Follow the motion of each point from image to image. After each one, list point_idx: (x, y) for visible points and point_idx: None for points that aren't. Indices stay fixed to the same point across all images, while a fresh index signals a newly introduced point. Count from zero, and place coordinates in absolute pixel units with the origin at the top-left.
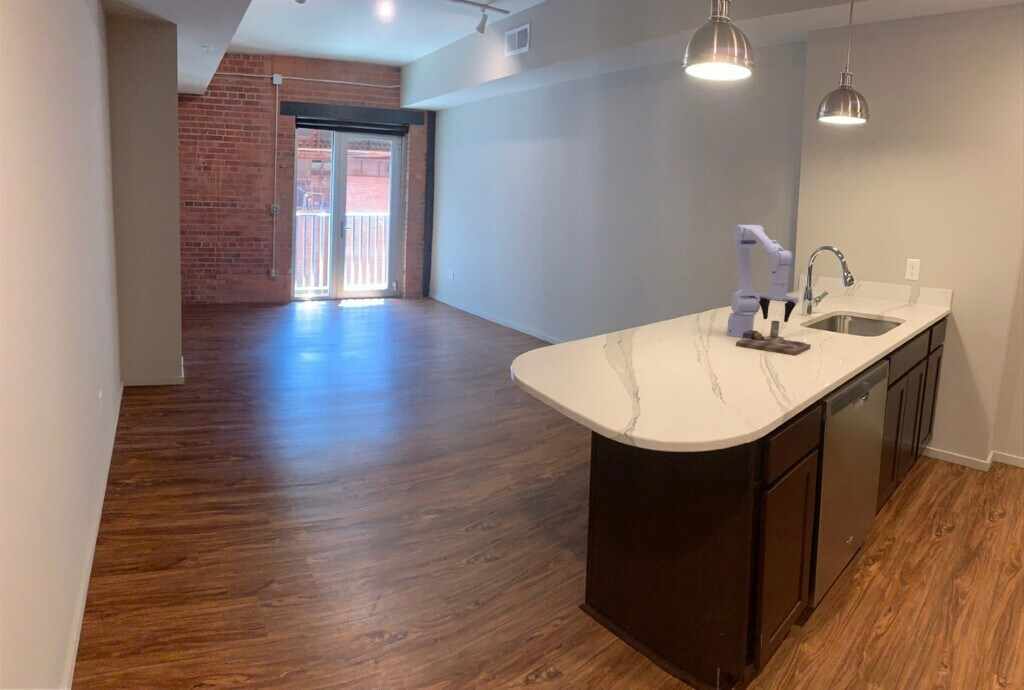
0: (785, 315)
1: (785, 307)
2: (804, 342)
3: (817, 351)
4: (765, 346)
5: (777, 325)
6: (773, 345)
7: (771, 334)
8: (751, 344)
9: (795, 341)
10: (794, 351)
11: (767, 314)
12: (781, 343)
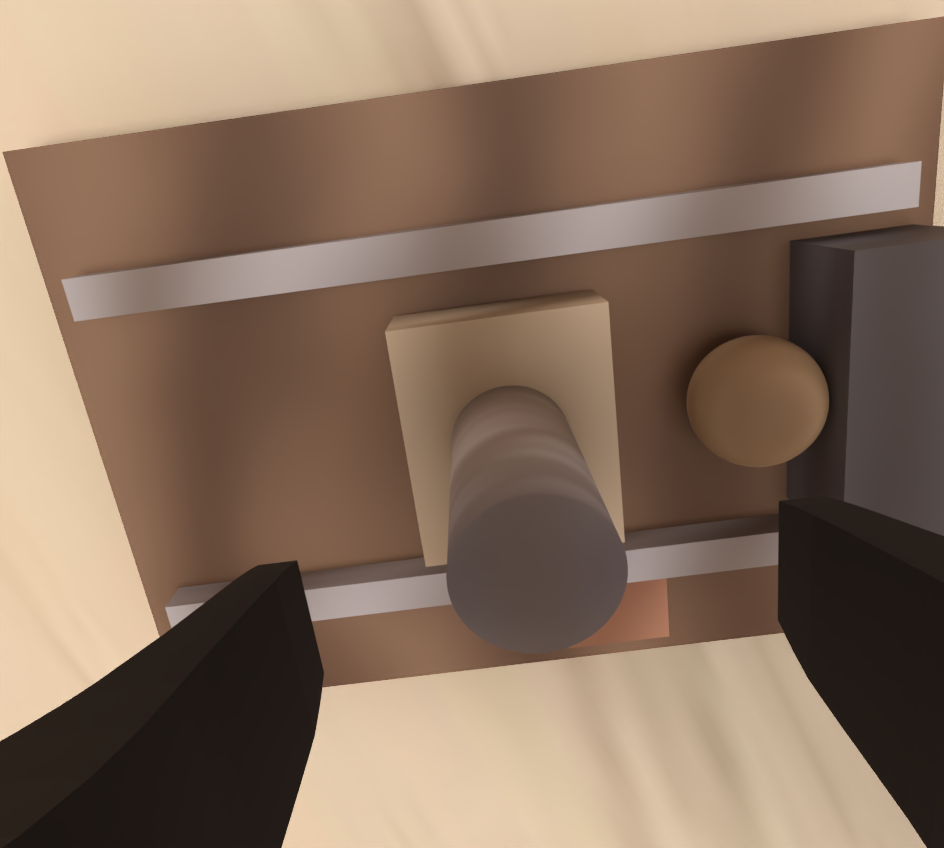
0: (195, 639)
1: (1, 825)
2: None
3: (81, 619)
4: (465, 95)
5: (455, 500)
6: (404, 231)
7: (533, 401)
8: (687, 54)
9: None
10: (23, 149)
11: (833, 687)
12: None
